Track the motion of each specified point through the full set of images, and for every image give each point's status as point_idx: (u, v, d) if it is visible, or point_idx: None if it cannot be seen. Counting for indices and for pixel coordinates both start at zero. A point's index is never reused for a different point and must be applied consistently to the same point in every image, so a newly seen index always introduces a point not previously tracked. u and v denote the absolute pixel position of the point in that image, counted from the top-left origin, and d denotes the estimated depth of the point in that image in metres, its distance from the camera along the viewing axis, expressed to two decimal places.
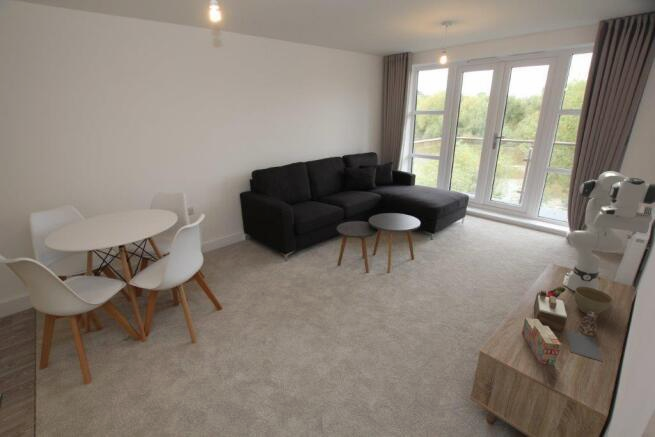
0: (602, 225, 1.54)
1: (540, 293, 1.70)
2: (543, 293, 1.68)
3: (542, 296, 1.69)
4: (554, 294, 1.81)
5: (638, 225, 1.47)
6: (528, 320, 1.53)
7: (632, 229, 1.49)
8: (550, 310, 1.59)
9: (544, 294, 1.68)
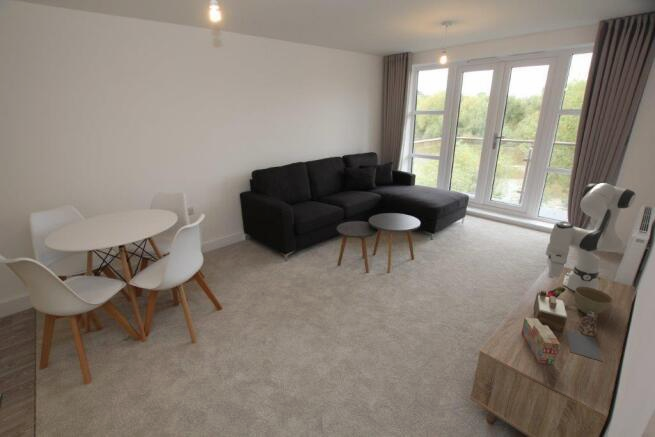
0: None
1: (540, 293, 1.70)
2: (543, 293, 1.68)
3: (542, 296, 1.69)
4: (554, 294, 1.81)
5: None
6: (527, 320, 1.54)
7: None
8: (550, 310, 1.59)
9: (544, 294, 1.68)
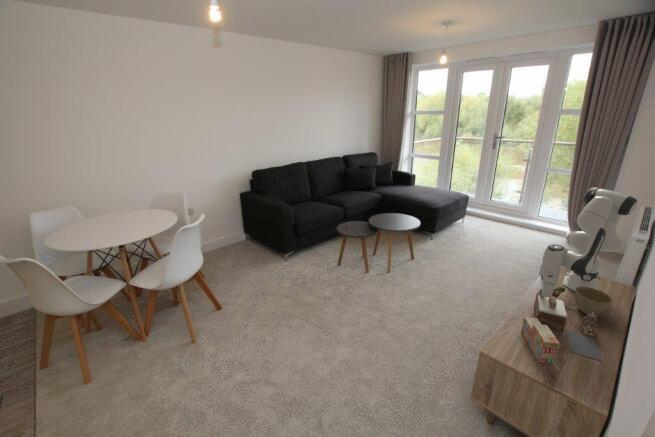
0: None
1: (540, 292, 1.71)
2: None
3: None
4: (554, 294, 1.81)
5: None
6: (527, 319, 1.54)
7: None
8: (550, 310, 1.59)
9: None
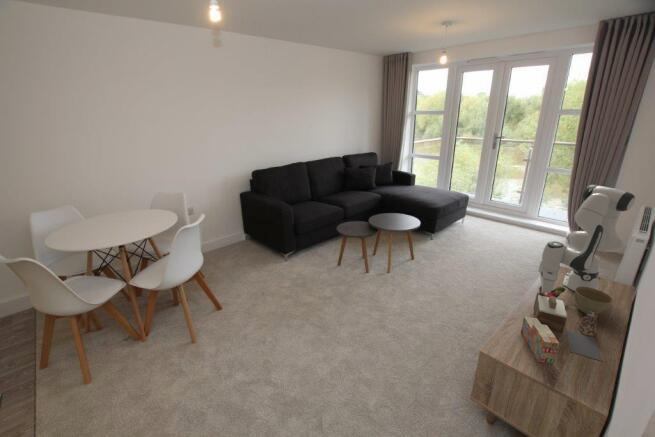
0: None
1: (539, 289, 1.74)
2: None
3: None
4: (554, 294, 1.81)
5: None
6: (527, 319, 1.54)
7: None
8: (550, 310, 1.59)
9: None
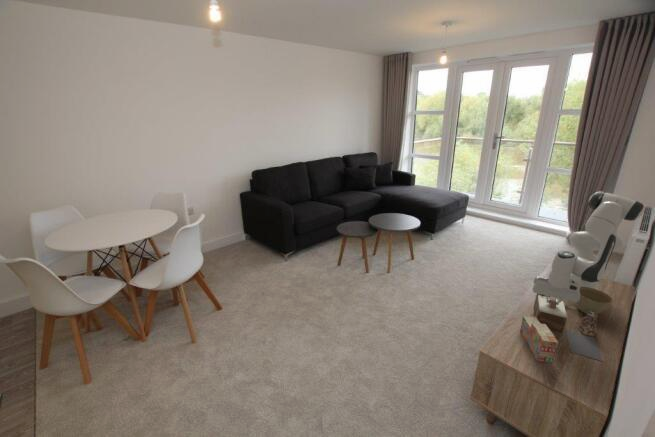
0: None
1: None
2: None
3: None
4: None
5: None
6: (526, 318, 1.55)
7: None
8: (550, 310, 1.59)
9: None
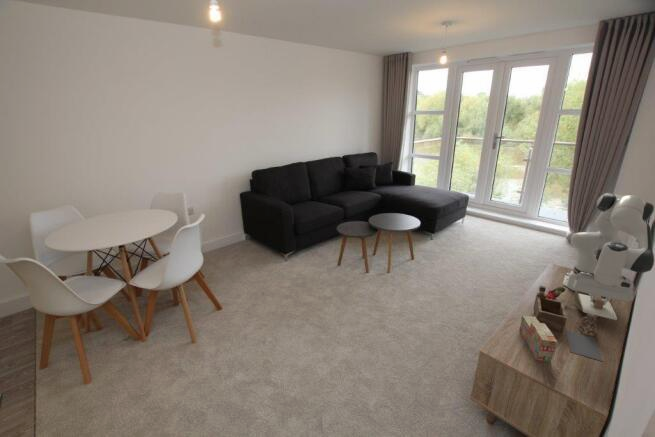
0: None
1: (539, 288, 1.74)
2: (542, 288, 1.72)
3: (541, 291, 1.73)
4: (554, 294, 1.81)
5: None
6: (525, 318, 1.55)
7: None
8: (596, 311, 1.37)
9: (543, 289, 1.72)
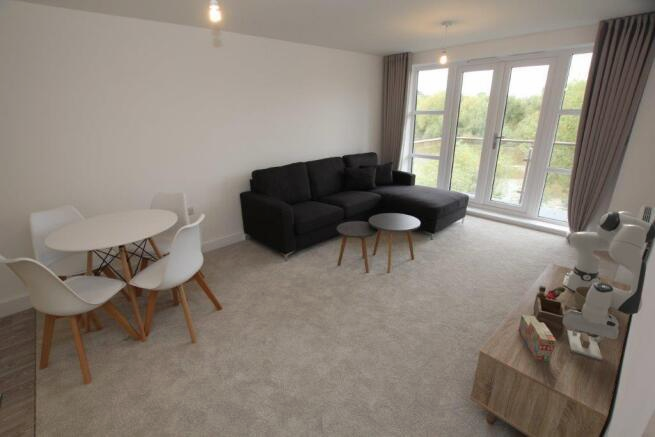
0: None
1: (539, 288, 1.74)
2: (542, 288, 1.72)
3: (541, 291, 1.73)
4: (554, 294, 1.81)
5: None
6: (524, 317, 1.55)
7: None
8: (583, 350, 1.44)
9: (543, 289, 1.72)
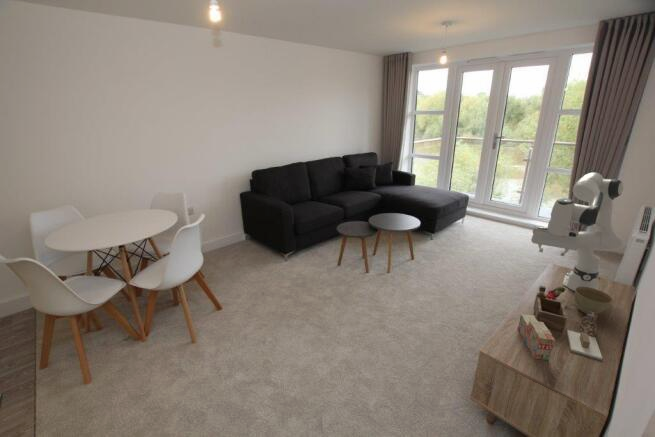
0: None
1: (539, 288, 1.74)
2: (542, 288, 1.72)
3: (541, 291, 1.73)
4: (554, 294, 1.81)
5: None
6: (524, 316, 1.56)
7: None
8: (583, 350, 1.44)
9: (543, 289, 1.72)
